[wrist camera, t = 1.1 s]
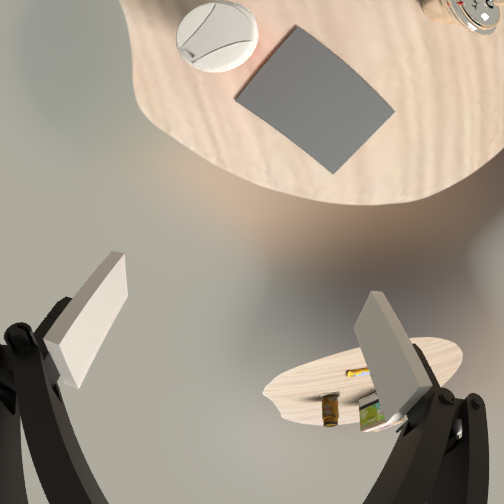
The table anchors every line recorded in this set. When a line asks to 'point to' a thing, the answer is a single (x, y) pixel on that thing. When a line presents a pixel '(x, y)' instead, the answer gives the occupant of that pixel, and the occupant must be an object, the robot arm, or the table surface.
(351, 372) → the candy bar
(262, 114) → the mat
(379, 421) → the tea box
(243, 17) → the paper cup
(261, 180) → the table surface
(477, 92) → the table surface
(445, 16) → the cup with straw
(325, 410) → the condiment
